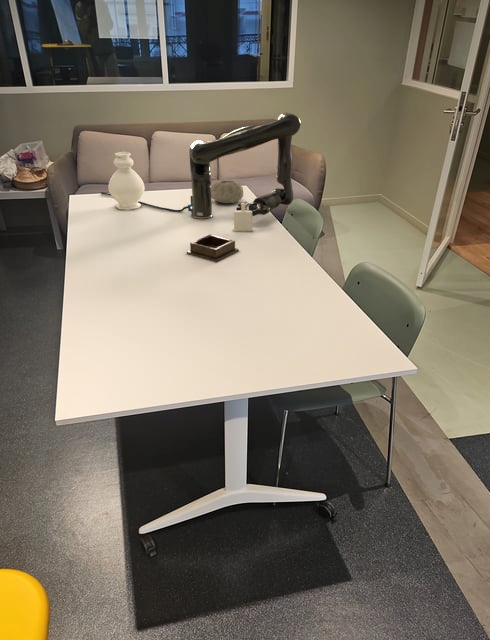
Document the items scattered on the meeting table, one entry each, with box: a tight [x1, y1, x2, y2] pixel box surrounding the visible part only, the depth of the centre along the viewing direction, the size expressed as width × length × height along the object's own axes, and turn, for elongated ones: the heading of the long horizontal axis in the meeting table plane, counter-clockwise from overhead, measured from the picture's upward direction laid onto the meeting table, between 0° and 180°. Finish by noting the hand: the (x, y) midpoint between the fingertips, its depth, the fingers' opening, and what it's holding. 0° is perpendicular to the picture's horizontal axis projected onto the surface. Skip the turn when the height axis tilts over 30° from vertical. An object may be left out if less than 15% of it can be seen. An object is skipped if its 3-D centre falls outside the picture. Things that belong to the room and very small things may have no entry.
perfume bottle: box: [233, 202, 253, 232], centre depth 224 cm, size 8×2×12 cm, turn 90°
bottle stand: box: [186, 234, 239, 263], centre depth 203 cm, size 15×15×4 cm
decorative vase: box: [107, 151, 146, 211], centre depth 250 cm, size 18×18×25 cm
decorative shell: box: [211, 179, 244, 204], centre depth 264 cm, size 18×18×10 cm
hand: (244, 211), depth 224 cm, fingers open, 8 cm apart
